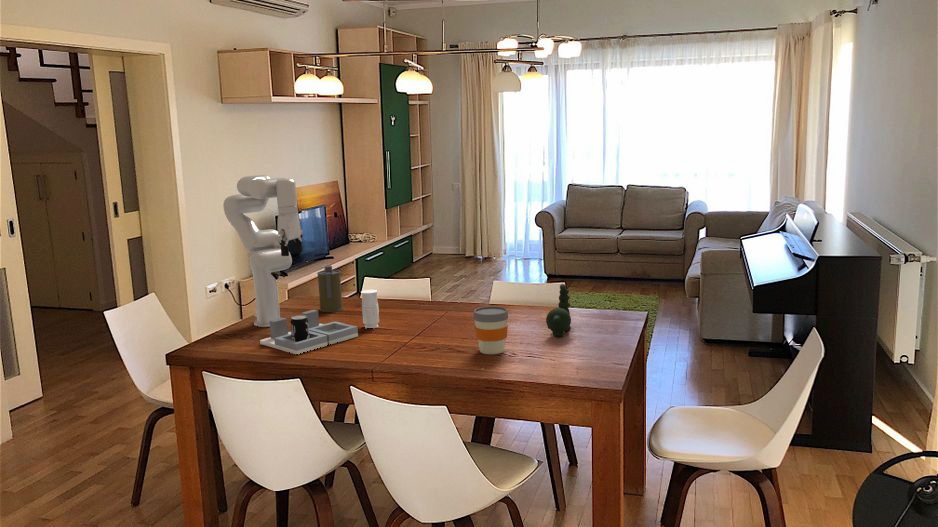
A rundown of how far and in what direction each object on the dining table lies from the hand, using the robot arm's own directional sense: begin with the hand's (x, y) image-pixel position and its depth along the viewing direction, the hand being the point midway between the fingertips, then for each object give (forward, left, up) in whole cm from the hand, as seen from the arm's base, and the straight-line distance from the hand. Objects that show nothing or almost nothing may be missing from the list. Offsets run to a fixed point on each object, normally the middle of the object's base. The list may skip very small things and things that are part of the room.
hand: (292, 253), depth 303 cm
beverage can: (+16, -10, -33) cm, 38 cm away
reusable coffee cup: (+78, +29, -33) cm, 89 cm away
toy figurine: (+85, +62, -33) cm, 110 cm away
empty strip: (+11, +5, -33) cm, 35 cm away
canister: (-22, +34, -33) cm, 53 cm away
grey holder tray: (+11, -10, -33) cm, 36 cm away
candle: (+16, +25, -33) cm, 45 cm away
